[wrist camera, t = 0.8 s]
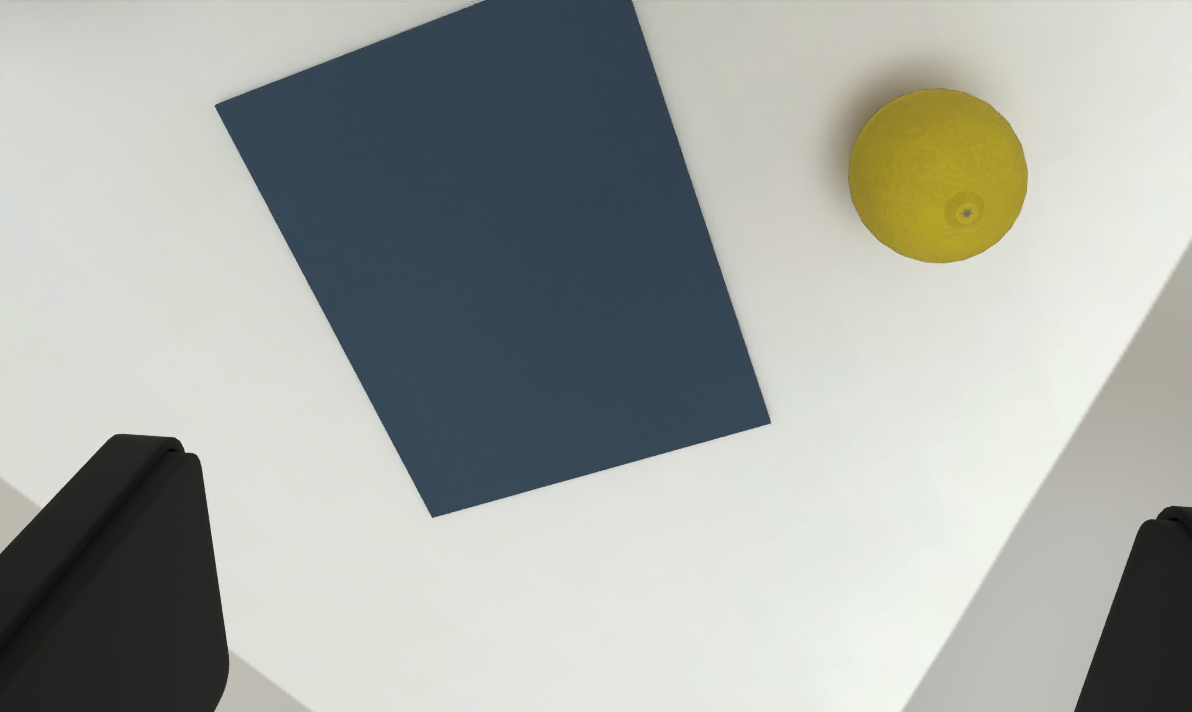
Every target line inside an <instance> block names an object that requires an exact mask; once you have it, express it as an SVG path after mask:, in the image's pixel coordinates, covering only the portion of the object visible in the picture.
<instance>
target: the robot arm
mask: <svg viewBox="0 0 1192 712" xmlns="http://www.w3.org/2000/svg"><path fill="white" fill-rule="evenodd" d="M228 673H229V654H228V647H227V640H226V633H225V626H224V619H223V612H222V605H221V598H220V591H219V584H218V577H217V570H216V563H215V557H214V550H213V543H212V536H211V529H210V522H209V515H208V508H207V501H206V494H205V487H204V480H203V473H202V467H201V463H200V460H199V458H198V456H197V455H195V454H194V453H185V451H184V447H183V446H182V444H181V442H180V441H179V440H178V439H176V438H174V437H160V436H146V435H131V434H116V435H114V436H113V437H111V438H110V439H109V440H108V441H107V442H106V443H105V444H104V445H103V446H102V447H101V448H100V449H99V450H98V451H97V452H96V453H95V454H94V455H93V456H92V457H91V459H90V460H89V461H88V462H87V463H86V464H85V465H84V466H83V467H82V468H81V469H80V470H79V471H78V472H77V473H76V474H75V475H74V476H73V478H72V479H71V480H70V481H69V482H68V483H67V484H66V485H65V486H64V487H63V488H62V489H61V490H60V491H59V492H58V493H57V494H56V496H55V497H54V498H53V499H52V500H51V501H50V502H49V503H48V504H47V505H46V506H45V507H44V508H43V509H42V510H41V511H40V512H39V513H38V515H37V516H36V517H35V518H34V519H33V520H32V521H31V522H30V523H29V524H28V525H27V526H26V527H25V528H24V529H23V530H22V531H21V533H20V534H19V535H18V536H17V537H16V538H15V539H14V540H13V541H12V542H11V543H10V544H9V545H8V547H6V548H5V550H4V551H3V552H2V553H1V554H0V712H214V711H215V709H216V707H217V705H218V703H219V701H220V699H221V697H222V695H223V692H224V690H225V686H226V683H227V678H228ZM1074 712H1192V507H1180V506H1171V507H1167V508H1165V509H1164V510H1163V511H1162V512H1161V513H1160V514H1159V515H1158V517H1157V519H1156V520H1154V519H1150V520H1147V521H1145V522H1144V523H1143V524H1142V525H1141V527H1140V529H1139V531H1138V533H1137V535H1136V538H1135V541H1134V544H1133V547H1132V550H1131V552H1130V555H1129V558H1128V561H1127V564H1126V566H1125V569H1124V572H1123V575H1122V578H1121V581H1120V583H1119V586H1118V589H1117V592H1116V595H1115V598H1114V600H1113V603H1112V606H1111V609H1110V612H1109V615H1108V617H1107V620H1106V623H1105V626H1104V629H1103V631H1102V634H1101V637H1100V640H1099V643H1098V646H1097V648H1096V651H1095V654H1094V657H1093V660H1092V662H1091V665H1090V668H1089V671H1088V674H1087V677H1086V680H1085V682H1084V685H1083V688H1082V691H1081V694H1080V696H1079V699H1078V702H1077V705H1076V708H1075V711H1074Z"/></svg>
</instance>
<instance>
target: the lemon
mask: <svg viewBox="0 0 1192 712" xmlns="http://www.w3.org/2000/svg"><path fill="white" fill-rule="evenodd" d="M1027 176H1028V171H1027V165H1026V161H1025V157H1024V153H1023V149H1022V145H1021V143H1020V141H1019V139H1018V138H1017V136H1016V134H1015V132H1014V131H1013V129H1012V127H1011V126H1010V124H1009V122H1008V121H1007V120H1006V119H1005V118H1004V117H1003V116H1002V115H1001V114H999V113H998V112H997V111H996V110H995V109H994V108H993V107H992V106H991V105H989V104H988V103H986V102H984V101H982V100H980V99H978V98H976V97H974V96H972V95H970V94H967V93H965V92H959V91H954V90H949V89H942V88H940V89H926V90H918V91H915V92H912V93H909V94H906V95H903V96H900V97H898V98H897V99H895V100H893V101H891V102H890V103H888V104H886V105H885V106H883V107H882V108H881V109H880V110H879V111H878V112H877V113H876V114H874V115H873V116H872V117H871V118H870V119H869V120H868V121H867V123H866V125H865V126H864V128H863V129H862V131H861V132H860V134H859V135H858V137H857V139H856V142H855V145H854V148H853V150H852V153H851V156H850V163H849V173H848V181H849V187H850V192H851V198H852V202H853V204H854V206H855V208H856V210H857V212H858V214H859V216H860V218H861V221H862V222H863V224H864V225H865V226H866V227H867V228H868V229H869V231H870V232H871V233H872V234H873V235H874V236H875V237H876V238H877V239H878V240H879V241H880V242H881V243H883V244H884V245H886V246H887V247H889V248H891V249H892V250H894V251H895V252H897V253H899V254H901V255H903V256H906V257H909V258H912V259H915V260H919V261H922V262H930V263H950V262H955V261H961V260H965V259H968V258H970V257H973V256H975V255H978V254H980V253H982V252H984V251H985V250H987V249H988V248H990V247H991V246H993V245H994V244H996V243H997V242H998V241H999V240H1000V239H1001V238H1002V237H1003V236H1004V235H1005V234H1006V233H1007V232H1008V231H1009V230H1010V229H1011V227H1012V225H1013V224H1014V222H1015V220H1016V219H1017V217H1018V215H1019V214H1020V212H1021V208H1022V205H1023V202H1024V199H1025V196H1026V193H1027Z"/></svg>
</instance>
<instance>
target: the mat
mask: <svg viewBox="0 0 1192 712" xmlns="http://www.w3.org/2000/svg"><path fill="white" fill-rule="evenodd" d="M215 108H216V110H217V111H218V113H219V115H220V117H221V119H222V121H223V123H224V125H225V127H226V128H227V130H228V132H229V134H230V136H231V138H232V140H233V142H234V144H235V146H236V147H237V149H238V151H239V153H240V155H241V157H242V159H243V161H244V163H245V164H246V166H247V168H248V170H249V172H250V174H251V176H252V178H253V180H254V181H255V183H256V185H257V187H258V189H259V191H260V193H261V195H262V197H263V198H264V200H265V202H266V204H267V206H268V208H269V210H270V212H271V214H272V215H273V217H274V219H275V221H276V223H277V225H278V227H279V229H280V231H281V233H282V234H283V236H284V238H285V240H286V242H287V244H288V246H289V248H290V250H291V251H292V253H293V255H294V257H295V259H296V261H297V263H298V265H299V267H300V268H301V270H302V272H303V274H304V276H305V278H306V280H307V282H308V284H309V285H310V287H311V289H312V291H313V293H314V295H315V297H316V299H317V301H318V302H319V304H320V306H321V308H322V310H323V312H324V314H325V316H326V318H327V320H328V321H329V323H330V325H331V327H332V329H333V331H334V333H335V335H336V337H337V338H338V340H339V342H340V344H341V346H342V348H343V350H344V352H345V354H346V355H347V357H348V359H349V361H350V363H351V365H352V367H353V369H354V371H355V372H356V374H357V376H358V378H359V380H360V382H361V384H362V386H363V388H364V389H365V391H366V393H367V395H368V397H369V399H370V401H371V403H372V405H373V407H374V408H375V410H376V412H377V414H378V416H379V418H380V420H381V422H382V424H383V425H384V427H385V429H386V431H387V433H388V435H389V437H390V439H391V441H392V442H393V444H394V446H395V448H396V450H397V452H398V454H399V456H400V458H401V459H402V461H403V463H404V465H405V467H406V469H407V471H408V473H409V475H410V476H411V478H412V480H413V482H414V484H415V486H416V488H417V490H418V492H419V494H420V495H421V497H422V499H423V501H424V503H425V505H426V507H427V509H428V511H429V512H430V514H431V516H432V518H434V517H437V516H441V515H444V514H448V513H451V512H455V511H459V510H462V509H466V508H469V507H473V506H477V505H480V504H484V503H487V502H491V501H494V500H498V499H502V498H505V497H509V496H512V495H516V494H520V493H523V492H527V491H530V490H534V489H537V488H541V487H545V486H548V485H552V484H555V483H559V482H563V481H566V480H570V479H573V478H577V477H580V476H584V475H588V474H591V473H595V472H598V471H602V470H606V469H609V468H613V467H616V466H620V465H623V464H627V463H631V462H634V461H638V460H641V459H645V458H649V457H652V456H656V455H659V454H663V453H667V452H670V451H674V450H677V449H681V448H684V447H688V446H692V445H695V444H699V443H702V442H706V441H710V440H713V439H717V438H720V437H724V436H727V435H731V434H735V433H738V432H742V431H745V430H749V429H753V428H756V427H760V426H763V425H767V424H770V423H771V422H770V418H769V415H768V412H767V409H766V406H765V403H764V400H763V397H762V394H761V391H760V388H759V385H758V382H757V379H756V376H755V373H754V370H753V367H752V364H751V361H750V358H749V355H748V352H747V349H746V346H745V343H744V340H743V337H742V334H741V331H740V328H739V325H738V322H737V319H736V316H735V313H734V310H733V307H732V304H731V301H730V298H729V294H728V291H727V288H726V285H725V282H724V279H723V276H722V273H721V270H720V267H719V264H718V261H717V258H716V255H715V252H714V249H713V246H712V243H711V240H710V237H709V234H708V231H707V228H706V225H705V222H704V219H703V216H702V213H701V210H700V207H699V204H698V201H697V198H696V195H695V192H694V189H693V186H692V183H691V180H690V177H689V174H688V171H687V168H686V164H685V161H684V158H683V155H682V152H681V149H680V146H679V143H678V140H677V137H676V134H675V131H674V128H673V125H672V122H671V119H670V116H669V113H668V110H667V107H666V104H665V101H664V98H663V95H662V92H661V89H660V86H659V83H658V80H657V77H656V74H655V71H654V68H653V65H652V62H651V59H650V56H649V53H648V50H647V47H646V44H645V41H644V37H643V34H642V31H641V28H640V25H639V22H638V19H637V16H636V13H635V10H634V7H633V4H632V1H631V0H486V1H483V2H480V3H478V4H475V5H473V6H470V7H468V8H465V9H462V10H460V11H457V12H455V13H452V14H449V15H447V16H444V17H442V18H439V19H436V20H434V21H431V22H429V23H426V24H424V25H421V26H418V27H416V28H413V29H411V30H408V31H405V32H403V33H400V34H398V35H395V36H393V37H390V38H387V39H385V40H382V41H380V42H377V43H374V44H372V45H369V46H367V47H364V48H362V49H359V50H356V51H354V52H351V53H349V54H346V55H343V56H341V57H338V58H336V59H333V60H330V61H328V62H325V63H323V64H320V65H318V66H315V67H312V68H310V69H307V70H305V71H302V72H299V73H297V74H294V75H292V76H289V77H287V78H284V79H281V80H279V81H276V82H274V83H271V84H268V85H266V86H263V87H261V88H258V89H255V90H253V91H250V92H248V93H245V94H243V95H240V96H237V97H235V98H232V99H230V100H227V101H224V102H222V103H219V104H217V105H215Z"/></svg>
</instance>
